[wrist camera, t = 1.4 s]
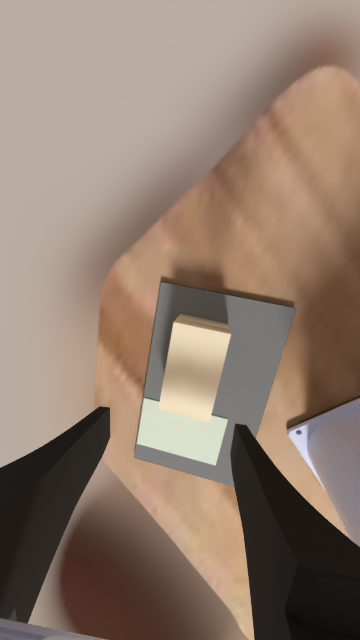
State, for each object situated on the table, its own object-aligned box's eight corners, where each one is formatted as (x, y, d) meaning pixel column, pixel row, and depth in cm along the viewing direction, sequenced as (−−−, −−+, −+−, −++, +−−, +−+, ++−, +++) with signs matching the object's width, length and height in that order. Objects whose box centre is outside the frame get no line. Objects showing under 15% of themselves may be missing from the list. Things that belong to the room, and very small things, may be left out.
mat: (161, 282, 20) (160, 282, 20) (294, 307, 19) (296, 308, 19) (135, 454, 25) (133, 458, 25) (239, 484, 24) (240, 489, 23)
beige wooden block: (180, 313, 20) (173, 322, 17) (228, 323, 20) (231, 334, 17) (166, 389, 22) (158, 409, 19) (210, 400, 22) (209, 422, 18)
